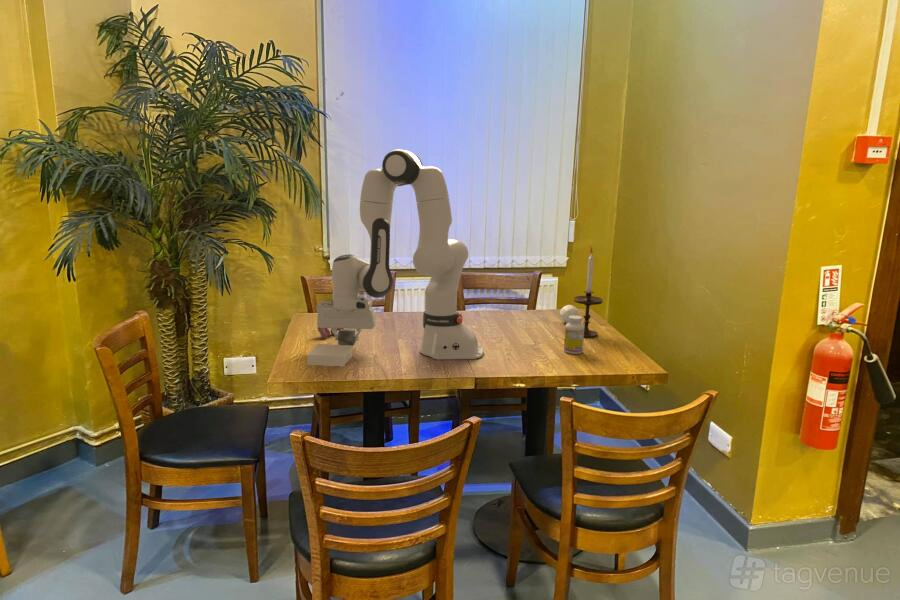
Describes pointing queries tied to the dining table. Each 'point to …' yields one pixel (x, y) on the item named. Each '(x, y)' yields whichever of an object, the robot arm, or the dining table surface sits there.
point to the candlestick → (588, 299)
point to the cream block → (330, 355)
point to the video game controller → (326, 332)
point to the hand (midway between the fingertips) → (347, 340)
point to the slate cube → (346, 337)
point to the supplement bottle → (574, 335)
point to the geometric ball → (568, 312)
